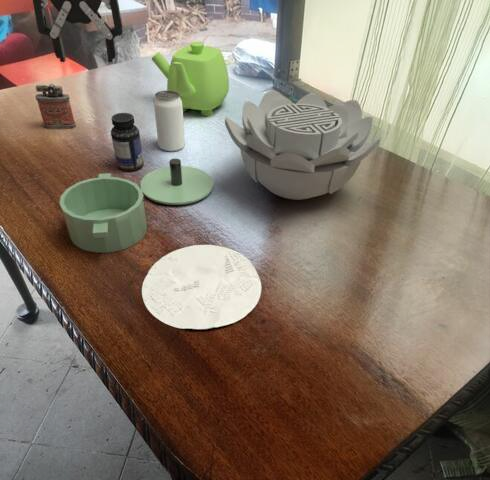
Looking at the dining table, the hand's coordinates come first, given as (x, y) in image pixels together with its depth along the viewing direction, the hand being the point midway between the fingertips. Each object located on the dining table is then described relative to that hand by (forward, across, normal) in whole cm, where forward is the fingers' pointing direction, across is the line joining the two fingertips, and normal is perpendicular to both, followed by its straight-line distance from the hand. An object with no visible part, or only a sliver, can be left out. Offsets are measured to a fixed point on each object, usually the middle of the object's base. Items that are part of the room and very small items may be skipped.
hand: (87, 61), depth 84 cm
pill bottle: (+23, -5, -5) cm, 24 cm away
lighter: (+23, +14, -28) cm, 39 cm away
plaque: (+24, -18, +39) cm, 49 cm away
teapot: (+23, -20, -38) cm, 49 cm away
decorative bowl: (+23, -41, +6) cm, 47 cm away
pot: (+23, -1, +20) cm, 31 cm away
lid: (+22, -15, +6) cm, 28 cm away
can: (+23, -15, -14) cm, 31 cm away
